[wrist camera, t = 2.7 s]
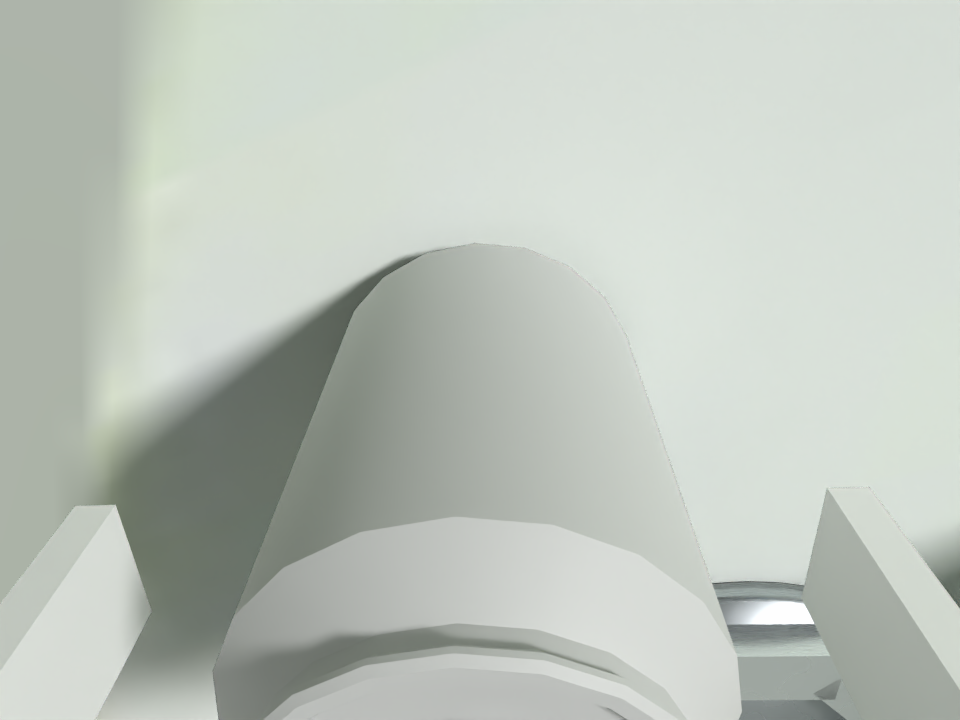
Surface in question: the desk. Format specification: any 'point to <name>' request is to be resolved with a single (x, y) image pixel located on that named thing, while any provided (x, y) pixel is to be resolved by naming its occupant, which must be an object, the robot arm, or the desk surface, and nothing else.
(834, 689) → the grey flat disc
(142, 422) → the desk surface
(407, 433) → the can
